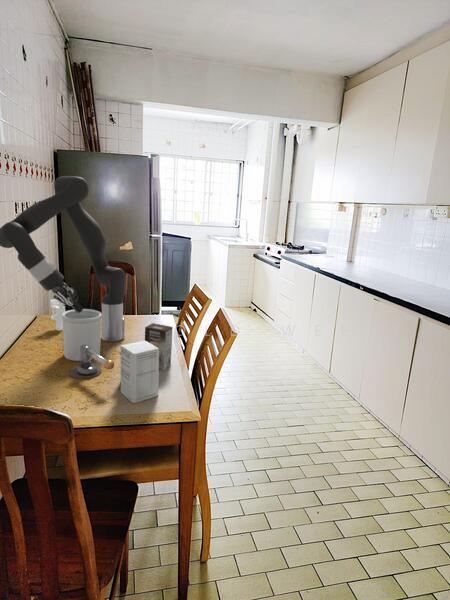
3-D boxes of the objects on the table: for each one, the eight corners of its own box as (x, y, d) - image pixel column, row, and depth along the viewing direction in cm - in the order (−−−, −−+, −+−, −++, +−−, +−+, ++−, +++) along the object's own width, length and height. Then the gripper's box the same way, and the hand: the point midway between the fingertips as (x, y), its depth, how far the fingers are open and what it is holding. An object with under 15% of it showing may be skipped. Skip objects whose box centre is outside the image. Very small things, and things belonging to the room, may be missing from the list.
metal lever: (73, 370, 141) (73, 346, 139) (91, 366, 146) (91, 342, 144) (102, 390, 128) (101, 364, 125) (120, 384, 133) (121, 359, 130)
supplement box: (145, 385, 135) (146, 339, 131) (159, 396, 128) (160, 347, 125) (119, 392, 129) (119, 344, 125) (132, 404, 122) (133, 353, 118)
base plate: (77, 365, 148) (77, 364, 148) (105, 367, 148) (105, 366, 147) (64, 377, 137) (64, 376, 137) (95, 379, 137) (95, 378, 137)
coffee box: (143, 366, 151) (143, 326, 147) (151, 360, 157) (152, 322, 153) (164, 370, 148) (165, 330, 145) (171, 365, 154) (173, 326, 151)
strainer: (49, 328, 188) (48, 298, 185) (65, 326, 192) (64, 297, 189) (53, 332, 183) (52, 301, 179) (69, 330, 187) (68, 300, 183)
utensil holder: (109, 353, 162) (109, 312, 158) (83, 364, 149) (82, 320, 145) (82, 346, 168) (81, 306, 164) (54, 356, 155) (53, 314, 151)
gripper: (30, 284, 136) (65, 320, 142) (46, 277, 127) (82, 316, 133) (46, 271, 140) (79, 307, 147) (62, 263, 131) (96, 301, 138)
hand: (80, 311), depth 140 cm, fingers closed
